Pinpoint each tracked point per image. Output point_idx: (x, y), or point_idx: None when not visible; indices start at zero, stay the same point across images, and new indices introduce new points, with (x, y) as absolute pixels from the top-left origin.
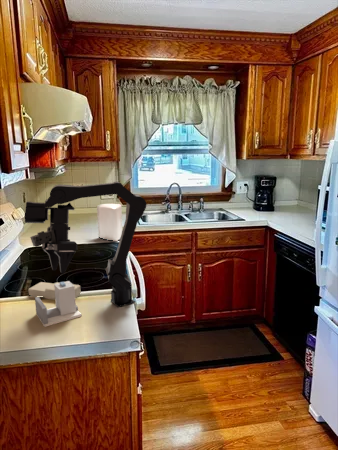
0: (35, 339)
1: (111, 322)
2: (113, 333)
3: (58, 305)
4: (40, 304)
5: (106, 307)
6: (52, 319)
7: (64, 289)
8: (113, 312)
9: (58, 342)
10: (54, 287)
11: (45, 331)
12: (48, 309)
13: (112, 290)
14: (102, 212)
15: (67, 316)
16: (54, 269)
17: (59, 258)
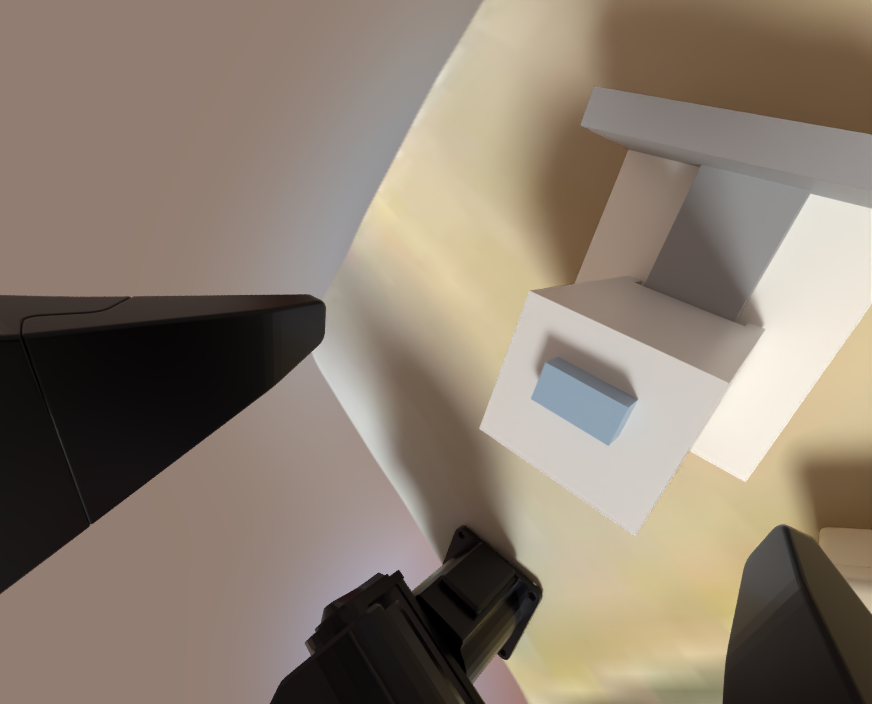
0: (560, 2)
1: (400, 380)
2: (348, 312)
3: (663, 301)
4: (699, 113)
5: (510, 507)
6: (647, 204)
7: (516, 339)
8: (449, 466)
9: (445, 102)
10: (732, 370)
11: (587, 99)
12: (856, 296)
13: (473, 615)
14: None
15: None
16: (762, 554)
17: (13, 307)
